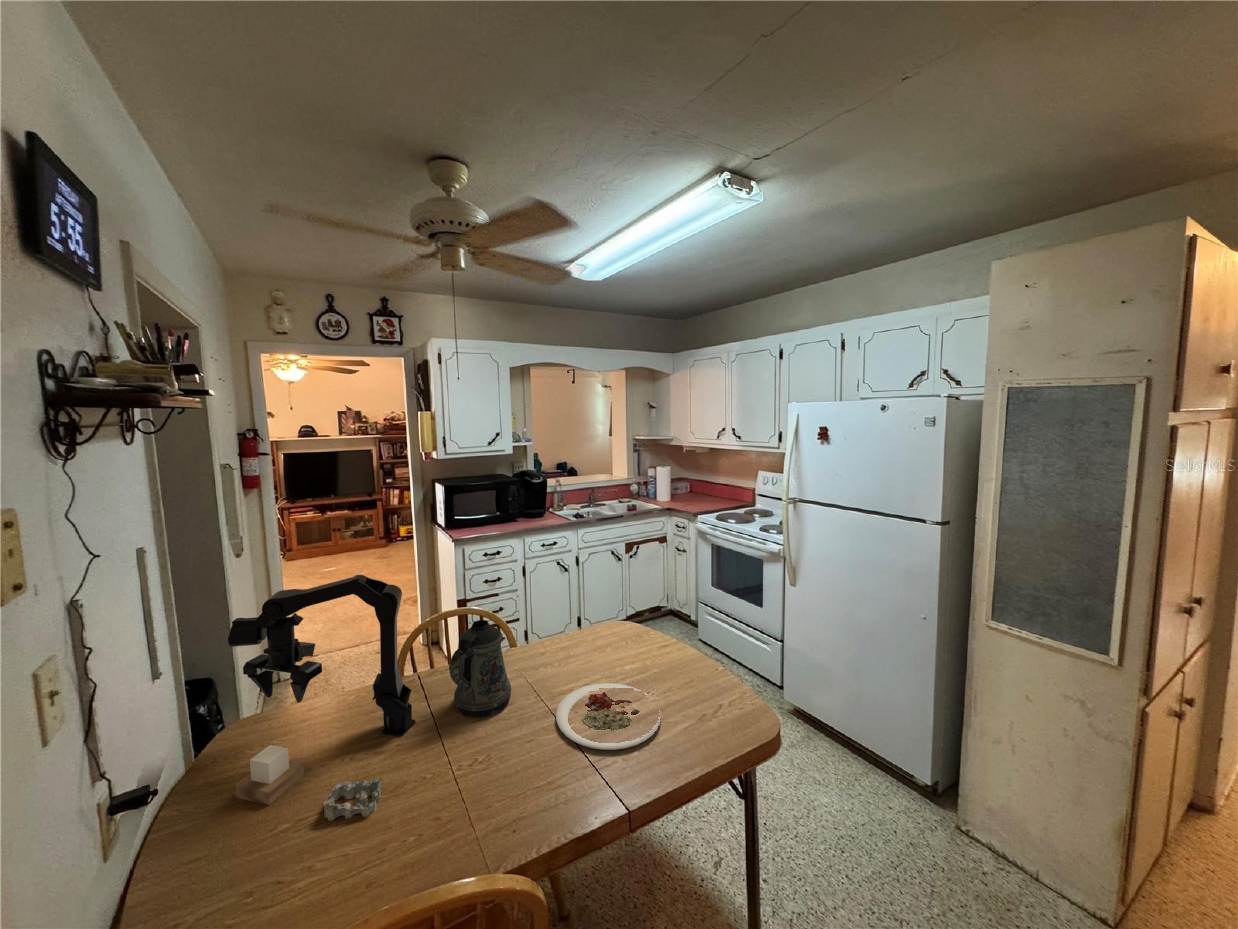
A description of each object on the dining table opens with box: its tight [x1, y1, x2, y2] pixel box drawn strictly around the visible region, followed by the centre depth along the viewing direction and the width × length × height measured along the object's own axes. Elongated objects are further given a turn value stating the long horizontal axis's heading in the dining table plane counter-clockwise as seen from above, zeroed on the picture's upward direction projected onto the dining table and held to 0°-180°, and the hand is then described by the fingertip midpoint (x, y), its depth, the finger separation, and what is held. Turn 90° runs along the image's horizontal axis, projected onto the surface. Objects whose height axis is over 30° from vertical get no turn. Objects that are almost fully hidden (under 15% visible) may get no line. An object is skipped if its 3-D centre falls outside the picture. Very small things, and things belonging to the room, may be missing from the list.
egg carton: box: [321, 778, 383, 822], centre depth 107 cm, size 11×8×4 cm
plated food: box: [555, 682, 662, 751], centre depth 140 cm, size 30×30×3 cm
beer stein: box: [448, 619, 512, 719], centre depth 143 cm, size 16×19×25 cm
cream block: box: [249, 744, 290, 784], centre depth 112 cm, size 5×5×5 cm
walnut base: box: [235, 760, 305, 806], centre depth 112 cm, size 9×9×3 cm
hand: (284, 699), depth 125 cm, fingers open, 9 cm apart
